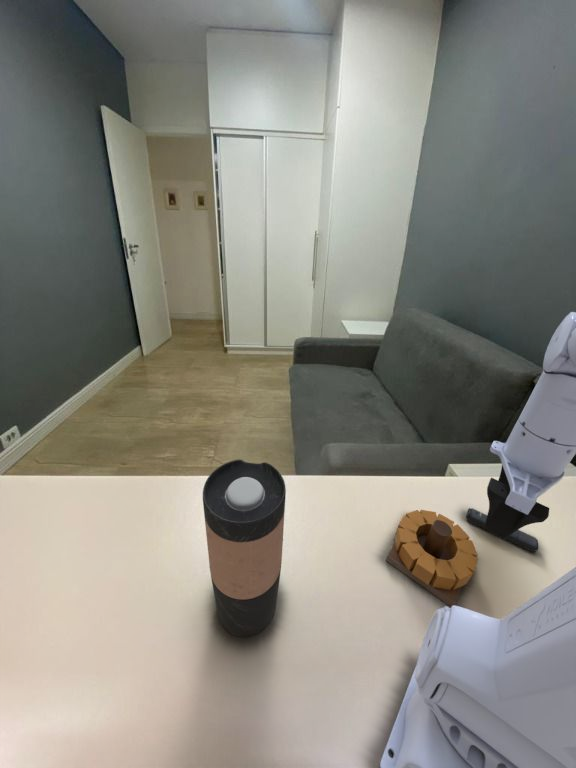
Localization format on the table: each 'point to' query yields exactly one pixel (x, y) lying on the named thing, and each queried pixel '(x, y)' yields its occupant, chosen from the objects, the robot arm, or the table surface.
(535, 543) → the usb stick
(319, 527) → the table surface
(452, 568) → the notched ring
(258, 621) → the travel mug
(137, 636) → the table surface
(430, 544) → the post stand
